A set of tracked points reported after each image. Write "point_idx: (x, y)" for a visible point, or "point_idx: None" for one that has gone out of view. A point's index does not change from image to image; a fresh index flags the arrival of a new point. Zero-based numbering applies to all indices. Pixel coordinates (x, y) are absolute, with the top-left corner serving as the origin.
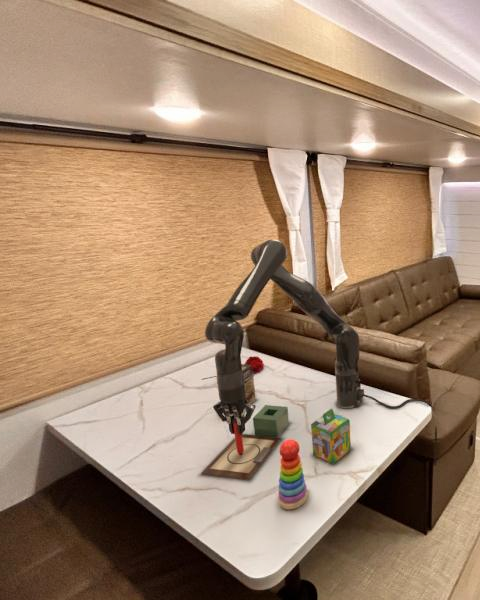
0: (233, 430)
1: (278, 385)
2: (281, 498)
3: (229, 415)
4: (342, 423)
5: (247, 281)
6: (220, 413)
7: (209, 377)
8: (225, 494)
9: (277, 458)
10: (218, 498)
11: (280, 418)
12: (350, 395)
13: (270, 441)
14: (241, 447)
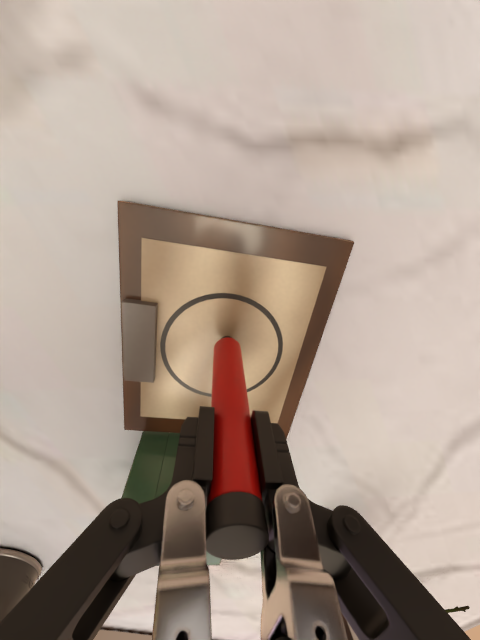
0: (254, 433)
1: (254, 592)
2: None
3: (291, 617)
4: None
5: None
6: (416, 629)
7: (448, 612)
8: (189, 93)
9: (79, 334)
10: (211, 59)
11: None
12: None
13: (153, 412)
14: (215, 357)
